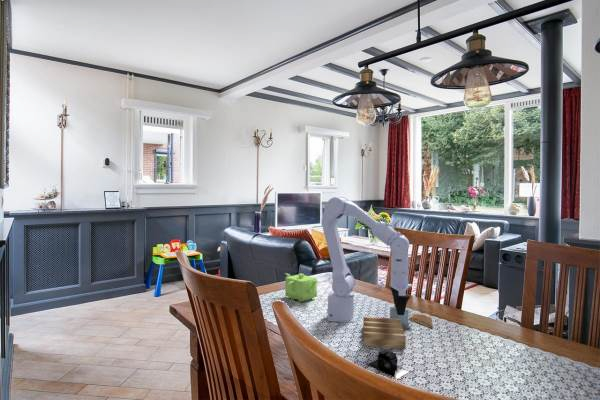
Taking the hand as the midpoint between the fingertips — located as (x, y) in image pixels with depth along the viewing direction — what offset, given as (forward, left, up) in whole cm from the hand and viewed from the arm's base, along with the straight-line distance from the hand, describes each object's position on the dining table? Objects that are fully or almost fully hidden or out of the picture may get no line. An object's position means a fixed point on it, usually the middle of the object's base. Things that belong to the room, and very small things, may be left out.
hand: (399, 310), depth 122 cm
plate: (0, 0, -5) cm, 5 cm away
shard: (+10, +7, -6) cm, 13 cm away
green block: (-38, +26, -6) cm, 46 cm away
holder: (0, 0, -6) cm, 6 cm away
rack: (-6, -10, -6) cm, 13 cm away
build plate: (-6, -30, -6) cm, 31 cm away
